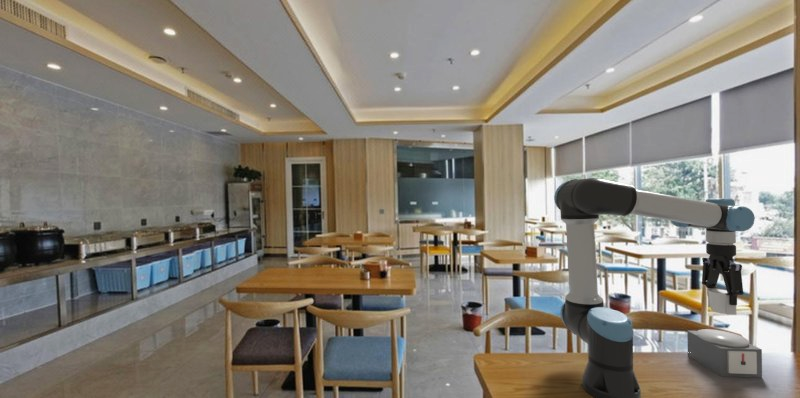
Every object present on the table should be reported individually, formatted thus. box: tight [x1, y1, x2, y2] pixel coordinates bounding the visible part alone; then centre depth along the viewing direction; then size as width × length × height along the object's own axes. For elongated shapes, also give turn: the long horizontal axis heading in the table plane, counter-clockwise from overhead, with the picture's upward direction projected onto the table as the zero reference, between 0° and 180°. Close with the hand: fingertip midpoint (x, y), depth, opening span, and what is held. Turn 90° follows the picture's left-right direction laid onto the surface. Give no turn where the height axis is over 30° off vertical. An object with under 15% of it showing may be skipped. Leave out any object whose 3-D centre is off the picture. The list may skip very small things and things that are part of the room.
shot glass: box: [708, 288, 727, 315], centre depth 119 cm, size 7×7×7 cm
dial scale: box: [686, 328, 763, 379], centre depth 118 cm, size 13×16×10 cm
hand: (721, 310), depth 119 cm, fingers closed on shot glass, 7 cm apart
